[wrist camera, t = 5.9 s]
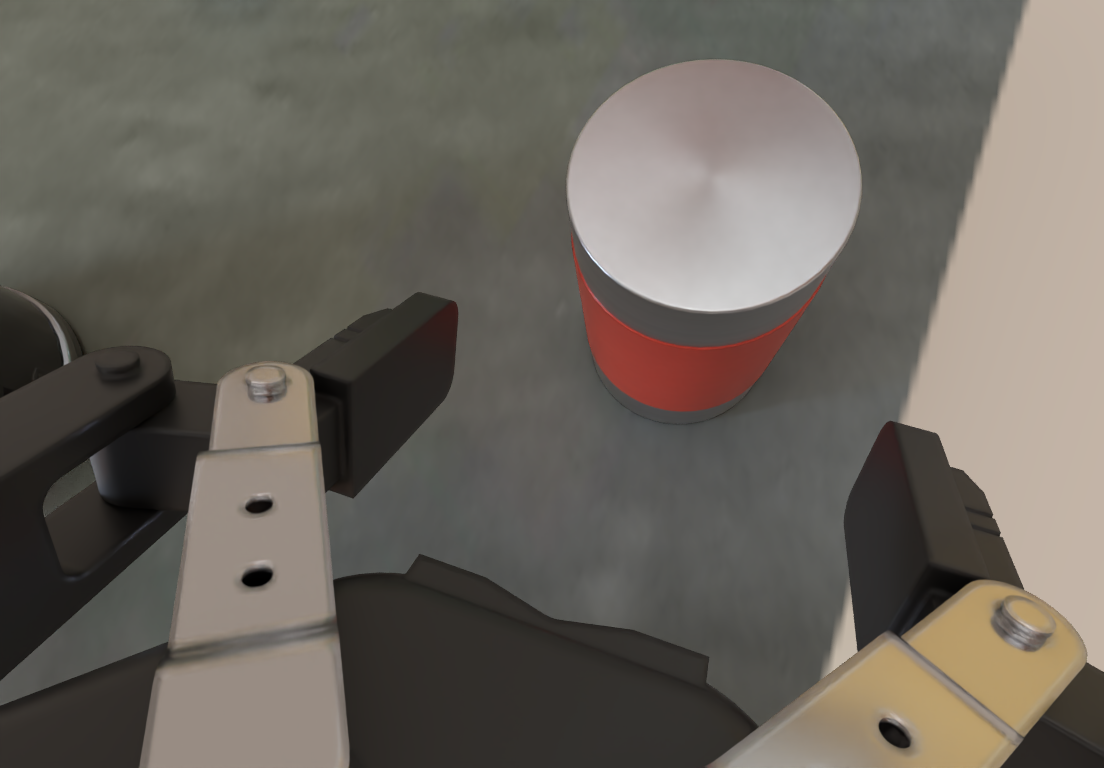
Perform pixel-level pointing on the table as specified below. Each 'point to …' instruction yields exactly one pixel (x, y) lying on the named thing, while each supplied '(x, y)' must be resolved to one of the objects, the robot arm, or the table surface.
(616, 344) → the can
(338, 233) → the table surface
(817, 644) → the table surface
